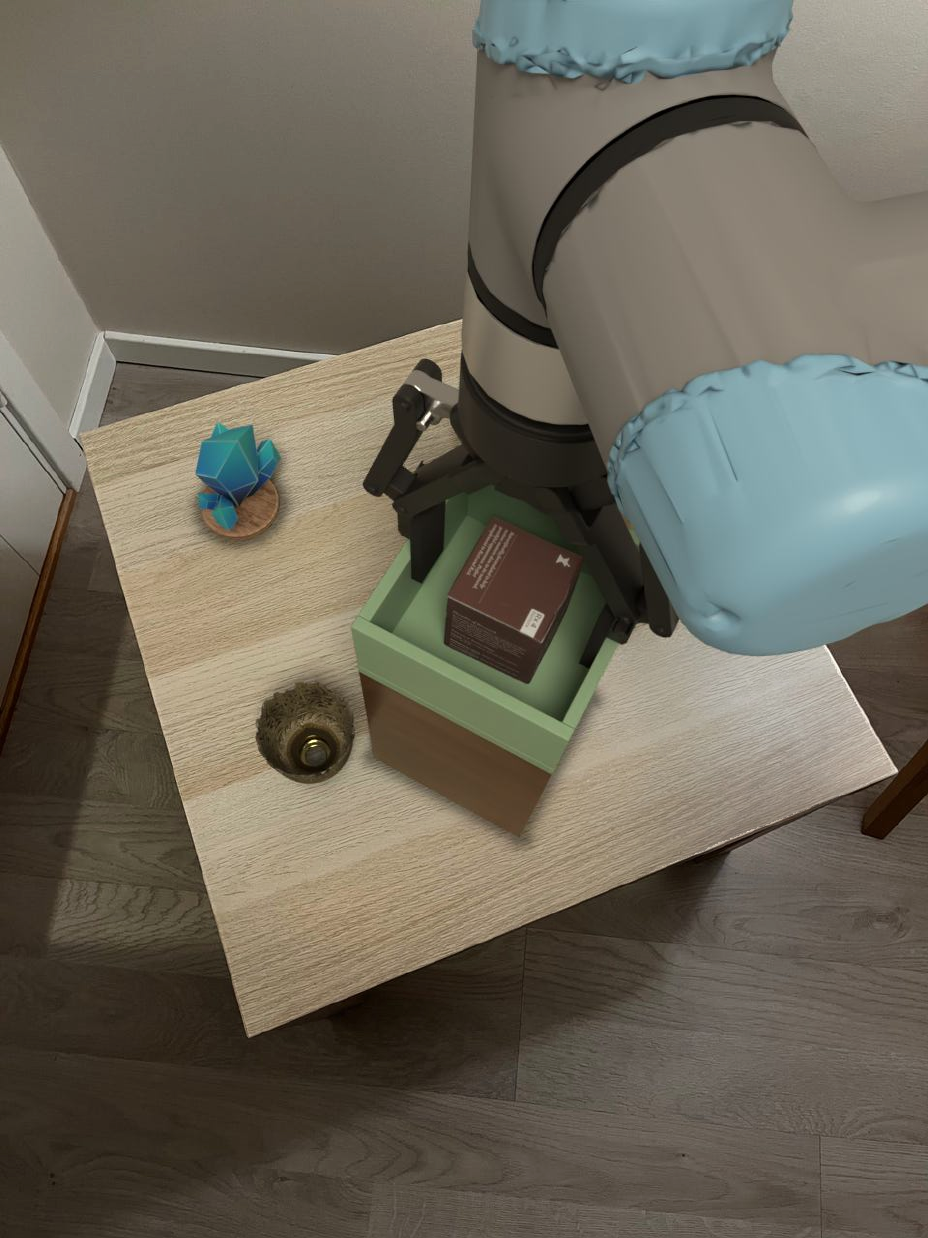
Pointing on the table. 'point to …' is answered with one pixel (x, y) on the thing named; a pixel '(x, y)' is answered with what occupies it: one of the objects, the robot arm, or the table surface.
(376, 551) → the table surface
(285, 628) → the table surface
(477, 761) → the stand
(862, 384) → the robot arm
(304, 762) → the bronze rounded hollow piece
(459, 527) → the basket
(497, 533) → the box
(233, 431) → the gemstone
